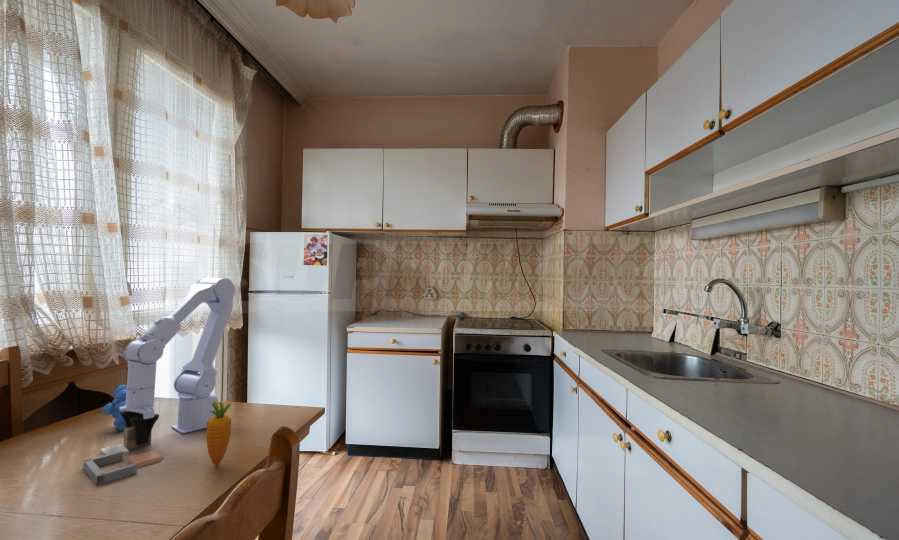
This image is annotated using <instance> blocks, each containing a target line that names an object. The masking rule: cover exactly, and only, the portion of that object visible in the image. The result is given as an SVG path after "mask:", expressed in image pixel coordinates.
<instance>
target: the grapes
mask: <svg viewBox="0 0 899 540" xmlns="http://www.w3.org/2000/svg"><path fill="white" fill-rule="evenodd" d="M126 392H127V384H126V385H125V384H120V385H119V386H118V387H117V388H116V389H115V390H114V393H113V395H114V396H115V397H114V398H113V400H112V402H108V403H107V404H106V405H105V406H104V407H103V408H102V409H101V411H102V412H103V413H104V414H106V415H107V416H112V418H113V419H114V421H113V423H112V425H114V427H115V428H117V430H120V431H122V430H123V431H125V428H126V426H125V422H124V419H123V417H122V415H121V414H120V412H121V411H120V410H119V407H122V406H125V404H126Z"/></svg>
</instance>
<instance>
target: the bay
mask: <svg viewBox="0 0 899 540" xmlns="http://www.w3.org/2000/svg"><path fill="white" fill-rule="evenodd" d="M123 455H124V454H123V452H122V451H119V452H115V453H111V454H107V455H104V454H103V455H101V456H96V457H92V458H88V459H85V460H83V467H82V468H83V471H84V472H85V473H86V474H87V475H88V477H89V478H90V479H91V481H92V482H93V483H94V484H95V485H96V486H98V485H102V484H105V483H108V482H112V481H115V480H117V479H121V478H124V477H125V478H126V477H128V476H131V475H134V474H137V465H136V464H132V465H131V464H129V465H125V466H122V467H118V468H115V469H114V468H113V469H111V470H107V471H102V470H101V468H100V467H101V466H104V465H108V464H111V463H116V462H119V461H122V460H123Z"/></svg>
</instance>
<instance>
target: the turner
mask: <svg viewBox="0 0 899 540" xmlns="http://www.w3.org/2000/svg"><path fill="white" fill-rule="evenodd" d="M152 430H153V429H152ZM152 430H151V433H150V436H149V439H148V442H147V443H146V444H142V445H136V442H135V432H134V428H133V426H132V427H128V428H125V429H124V430H123V431H124V435H123V443H120V444H116V445H115V444H114V445H112V446H107V447H104V448H103V447H102V448H100V453H101V454H102V455H103V456H104V455H107V454H111V453H115V452H119V451H122V452H123V455H125V454H129V452H130V450H135V449H139V448H142V447H146V446H149V445H152Z"/></svg>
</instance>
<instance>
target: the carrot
mask: <svg viewBox="0 0 899 540" xmlns="http://www.w3.org/2000/svg"><path fill="white" fill-rule="evenodd" d="M211 404H212V405H213V407H214V409H215V411H216V412H215V411H214V410H211V411H210V412H212V413H213V414H214V415H216V416H214V417H212V418H210V419H209V420H208V421H207V428H206V433H205V435H206V446H207V447H206V448H207V451H208V452H207V453H208V456H209V458H210V460H211V462H212V464H213V465H214V466H215V467H218V465H220V464H221V462H222V460H223V458H224V457H225V454H226V452H227V450H228V445H229V442H230V436H231V430H232V429H231V428H232V418H231V417H230V416H228V415H226V413H227V410H228V409H229V408H230V407H231V405H232V404H231V403H230V402H227V404H225V405H224V402H222V401H221V402H218V404H217V402H216V401H213V402H212V403H211Z"/></svg>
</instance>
